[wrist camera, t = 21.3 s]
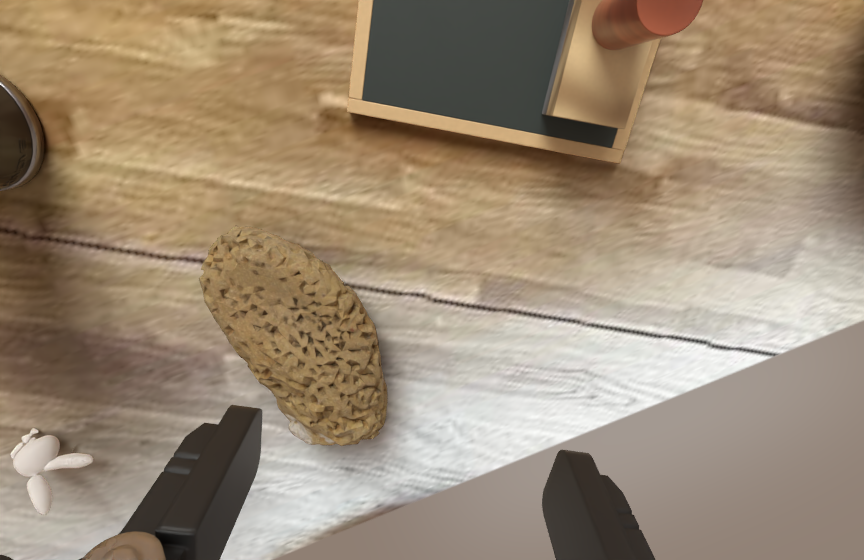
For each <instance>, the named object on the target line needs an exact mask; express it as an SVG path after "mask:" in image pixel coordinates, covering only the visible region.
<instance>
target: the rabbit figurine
mask: <svg viewBox="0 0 864 560" xmlns="http://www.w3.org/2000/svg"><path fill="white" fill-rule="evenodd" d="M35 433H38V430H36V429H35V428H32V430H31V432H30V434H28V435H24V436H23V437H22V441H23V443H19V444H18V445H17V446H16V447H15V448H14V450H13V451H12V452H11V458H12V459H13V465H14V468H15V469H16V471H17V472H18V473H19V474H21V475H23V476H29V477H31V478H30V480H29V481H28V483H27V490H28V493H29V496H30V499H31V501H32V504H33V506H34V507H35V509H36V510H37V511H38V512H39V513H40V514H41V515H47V514H48V512H49V510H50V508H51V505H52V499H53V496H52V491H51V488H50V486H49V484H48V482H47V480H46V479H45V478H44V477H43V476H41V475H37V474H38V473H39V472H41V471H43V470H44V471H49V470H55V469H60V468H81V467H84V466H87V465H89V464H91V463H92V462H93V460H94V459H93V457H92V456H91V455H89V454H83V453H72V452H71V454H66V455H61V456H58V457H56V456H57V454H58V452H59V448H60V443H59V440H58V438H56V437H55V436H52V435H47V436H43V437H40V438H38V439H36V438H35V437H33V438H32V434H35ZM24 443H27V444H26V445H25V446H24ZM74 447H75V446H74ZM73 449H74V448H73ZM72 451H73V450H72ZM36 475H37V476H36Z"/></svg>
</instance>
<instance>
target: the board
mask: <svg viewBox="0 0 864 560" xmlns="http://www.w3.org/2000/svg"><path fill="white" fill-rule="evenodd" d="M568 4H569V0H359V1H358V11H357V21H356V30H355V40H354V50H353V59H352V69H351V78H350V88H349V99H348V107H347V112H349V113H354V114H360V115H365V116H370V117H376V118H381V119H386V120H391V121H397V122H402V123H407V124H413V125H418V126H423V127H428V128H434V129H439V130H444V131H449V132H455V133H460V134H465V135H471V136H476V137H481V138H486V139H492V140H497V141H502V142H508V143H513V144H518V145H523V146H529V147H534V148H539V149H544V150H550V151H555V152H560V153H566V154H571V155H576V156H581V157H587V158H592V159H597V160H603V161H608V162H613V163H618V164H620V162H621V159H622V156H623V153H624V150H625V148H626V144H627V141H628V138H629V135H630V132H631V129H632V126H633V123H634V120H635V117H636V114H637V110H638V107H639V104H640V101H641V98H642V95H643V92H644V89H645V86H646V83H647V80H648V76H649V73H650V70H651V67H652V64H653V61H654V58H655V55H656V52H657V49H658V46H659V42H660V39H661V38H659V39H656V40H652V43H651V47H650V50H649V53H648V56H647V59H646V63H645V66H644V69H643V72H642V75H641V79H640V82H639V85H638V88H637V91H636V95H635V98H634V101H633V104H632V107H631V111H630V114H629V117H628V120H627V124H626V127H625V129H619V128H612V127H605V126H600V125H595V124H589V123H584V122H579V121H573V120H568V119H563V118H557V117H552V116H546V115H542V110H543V106H544V102H545V98H546V94H547V90H548V86H549V82H550V77H551V73H552V69H553V65H554V61H555V57H556V53H557V49H558V45H559V41H560V37H561V33H562V29H563V25H564V20H565V16H566V12H567V8H568Z"/></svg>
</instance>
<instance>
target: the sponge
mask: <svg viewBox="0 0 864 560" xmlns="http://www.w3.org/2000/svg"><path fill="white" fill-rule="evenodd" d="M208 251H209V252H208V257H207V258H206V259H205V261H204V262H203V265H202V268H201V270H204V273H203V275H202V276H201V277H200V278H199V280H200V283H201V287H202V290H203V295H204V301H205V303H206V305H207V306H208V308H209V310H210V311H211V313H212V315H213V317H214V319H215V320H216V322H217V323H218V324H219V326H220V327H221V329H222V331H223V332H224V333H225V335H226V336H227V338H228V340H229V342H230V344H231V345H232V346H233V348H234V349H235V351H236V352H237V353H238V355H239V356H240V357H241V358H243V359H244V360H245V361H246V362H247V363H248V367H249V368H250V370H251V371H252V373H253V374H254V375H255V377H256V378H257V380H258V381H259V382H260V383H261V384H263V385H265V386H266V387H267V388H269V389H270V390H271V391H272V393H273V394H274V396H275V397H276V399H277V404H278V407H279V409H280V410H281V412H282V413H283V414H284V415H285V416H286V417H287V418H288V419H289V420H290V424H289V430H290V431H291V432H292V434H293V435H294V436H296V437H298V438H299V439H301V440H303V441H304V442H306V443H308V444H311V445H315V444H321V445H333V444H338V445H340V446H344V445H351V444H358V443H359V442H360V440H361V439H374V438H375V437H376V436H377V435H378V434H379V430H380V429H381V428H382V427H383V425H384V423H385V418H386V409H387V387H386V383H385V380H384V378H383V372H382V368H381V357H380V352H379V346H378V337H377V333H376V328H375V326H374V323H373V322H372V321H371V319H370V318H369V317H368V315H367V312H366V310H365V309H364V307H363V305H362V303H361V301H360V300H359V299H358V297H357V295H356V293H355V292H354V291H353V290H352V289H351V288H350V287H349V286H344V282H343V281H341V280H340V278H339V277H338V276H337V274H336V273H335V272H334V271H333V270H332V268H331V267H330V265H328V264H326V263H323V261H320V260H319V259H317V258H316V257H315V256H314V254H313V253H312V252H311V251H308V250H306V249H304V248H302V247H301V246H299V245H298V244H293V243H290V242H287V241H285V240H283V239H282V238H281V237H279V236H277V235H272V234H270V233H268V232H267V231H264V230H261V229H257V228H253V227H238V226H235V227H234V228H233V229H232V230H231V231H230V232H229V233H227V235H221V236H220V237H219V238H217V241H216V242H215V243H214V244H213V245H212V246H211V247H210V249H209V250H208Z"/></svg>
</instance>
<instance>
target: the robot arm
mask: <svg viewBox="0 0 864 560" xmlns="http://www.w3.org/2000/svg"><path fill="white" fill-rule="evenodd" d="M43 157H44V137H43V132H42V128H41V125H40V122H39V120H38V118H37V116H36V114H35V112H34V110H33V108H32V107H31V105H30V103H29V102H28V101H27V99H26V98H25V97H24V96H23V94H22V93H21V92H20V91H19V90H18V89H17V88H16V87H15V86H14V85H13V84H12V83H11V82H9V81H8V80H7V79H6V78H4V77H3V76H1V75H0V191H2V190H7V189H12V188H16V187H19V186H22V185H24V184H25V183H27V182H28V181H30V180H31V179H32V178H33V177H34V176H35V175H36V173H37V172H38V170H39V169H40V166H41V164H42V161H43ZM261 432H262V410H261V409H259V408H251V407H244V406H236V405H231V406H230V407H229V408H228V410H227V411H226V413H225V415H224V416H223V418H222V420H221V421H220V423H219V424H218V425H217V424H209V423H204V424H202V425H201V426H200V427H198V428H197V429H196V430H194V431H193V432H191V433H190V434H189V435H187V436H186V437H185V439H184V440H183V442H182V443H181V445H180V446H179V447H178V449H177V450H176V452H175V453H174V457H172V458H171V459H170V461H169V462H168V464H167V465H166V467H165V468H164V472H162V473H161V474H160V475H159V477H158V478H157V480H156V481H155V483H154V484H153V486H152V487H151V489H150V490H149V492H148V493H147V495H146V496H145V498H144V499H143V501H142V502H141V504H140V505H139V506H138V508H137V509H136V511H135V512H134V514H133V515H132V517H131V518H130V520H129V521H128V523H127V524H126V526H125V527H124V528H123V530H122V531H121V532H120V533H119V534H118V535H116V536H113V537H111V538H109V539H107V540H105V541H103V542H101V543H100V544H98V545H97V546H96V547H94V548H93V549H92V550H91V551H90V552H88V553H87V554H86V555H85V557H84V558H81V559H78V560H219V559H220V557H221V555H222V552H223V550H224V548H225V546H226V543H227V541H228V539H229V536H230V534H231V532H232V529H233V527H234V525H235V522H236V520H237V518H238V515H239V513H240V511H241V508H242V506H243V504H244V501H245V499H246V497H247V495H248V492H249V490H250V488H251V485H252V483H253V481H254V478H255V475H256V472H257V469H258V465H259V460H260V453H261ZM542 507H543V514H544V518H545V522H546V525H547V529H548V533H549V536H550V540H551V543H552V547H553V550H554V554H555V558H556V560H655V558H654V556H653V554H652V551H651V549H650V547H649V545H648V543H647V541H646V539H645V537H644V535H643V533H642V531H641V530H639V525H638V523H637V521H636V519H635V517H634V515H632V511H631V508H630V506H629V504H628V502H627V500H626V498H625V496H624V494H623V492H622V491H621V490H620V489H619V488H618V487H617V486H616V485H615V483H614V482H613V481H612V480H611V479H610V478H609V477H608V476H605V475H600V474H599V471H598V469H597V467H596V465H595V462H594V460H593V458H592V456H591V455H590V454H589V453H583V452H575V451H568V450H560V451H559V452H558V454H557V456H556V459H555V462H554V464H553V467H552V470H551V472H550V475H549V478H548V480H547V483H546V486H545V488H544V491H543V499H542ZM0 560H13V559H11V558H10V557H7V556H4V555H0Z"/></svg>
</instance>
